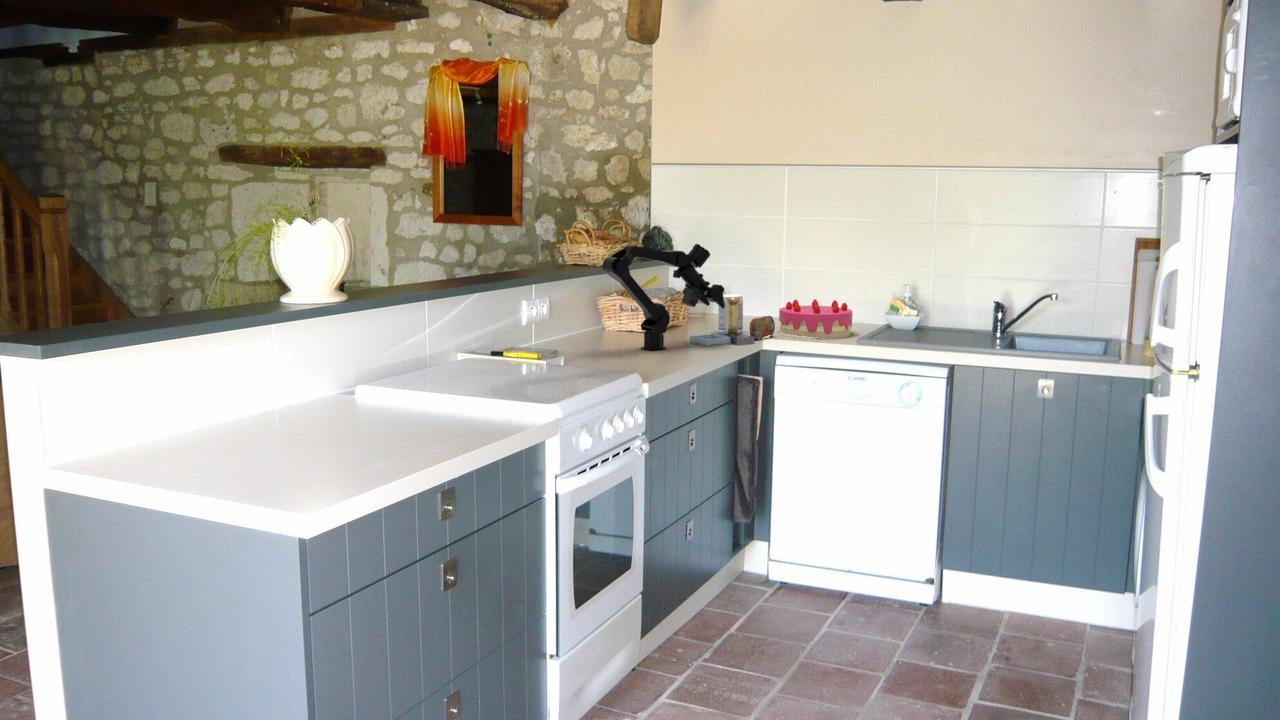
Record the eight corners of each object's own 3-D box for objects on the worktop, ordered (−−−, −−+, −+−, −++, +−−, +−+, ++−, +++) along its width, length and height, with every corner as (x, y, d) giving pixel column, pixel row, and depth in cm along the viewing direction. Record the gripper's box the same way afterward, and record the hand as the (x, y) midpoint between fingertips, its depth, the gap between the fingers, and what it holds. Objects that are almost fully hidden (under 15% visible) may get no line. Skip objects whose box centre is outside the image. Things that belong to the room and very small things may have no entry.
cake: (813, 327, 410) (814, 296, 408) (866, 335, 388) (868, 303, 386) (763, 332, 393) (764, 301, 391) (816, 341, 371) (817, 308, 369)
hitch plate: (736, 345, 361) (737, 338, 360) (710, 339, 374) (710, 332, 374) (754, 343, 365) (754, 336, 365) (728, 337, 378) (728, 331, 378)
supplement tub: (743, 331, 396) (744, 294, 393) (741, 334, 386) (742, 296, 384) (719, 330, 397) (719, 293, 395) (716, 334, 388) (717, 296, 386)
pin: (732, 342, 366) (733, 299, 363) (723, 341, 370) (723, 298, 367) (741, 341, 369) (742, 298, 367) (732, 340, 373) (732, 297, 370)
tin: (754, 341, 370) (755, 318, 369) (747, 340, 372) (748, 318, 371) (775, 336, 382) (775, 314, 381) (768, 336, 384) (768, 314, 383)
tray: (706, 346, 357) (706, 339, 357) (689, 342, 366) (689, 336, 366) (730, 344, 363) (730, 337, 362) (713, 340, 371) (713, 333, 371)
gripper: (663, 291, 361) (688, 320, 369) (693, 296, 346) (718, 326, 354) (681, 269, 364) (706, 297, 372) (712, 272, 349) (737, 302, 356)
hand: (716, 306), depth 363 cm, fingers open, 9 cm apart
